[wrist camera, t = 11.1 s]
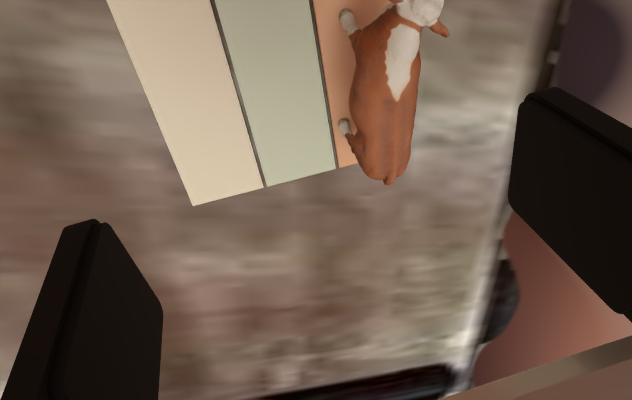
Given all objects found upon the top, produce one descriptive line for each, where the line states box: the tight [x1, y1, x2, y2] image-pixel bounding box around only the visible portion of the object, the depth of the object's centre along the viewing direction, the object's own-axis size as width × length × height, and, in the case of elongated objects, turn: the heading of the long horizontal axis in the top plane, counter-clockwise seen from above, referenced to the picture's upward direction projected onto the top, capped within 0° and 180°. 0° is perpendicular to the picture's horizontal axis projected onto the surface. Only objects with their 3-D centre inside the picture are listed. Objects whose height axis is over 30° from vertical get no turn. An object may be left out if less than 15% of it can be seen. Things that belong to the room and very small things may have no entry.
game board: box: [106, 0, 392, 206], centre depth 30 cm, size 16×18×1 cm
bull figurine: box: [338, 0, 449, 185], centre depth 27 cm, size 4×13×8 cm, turn 177°
